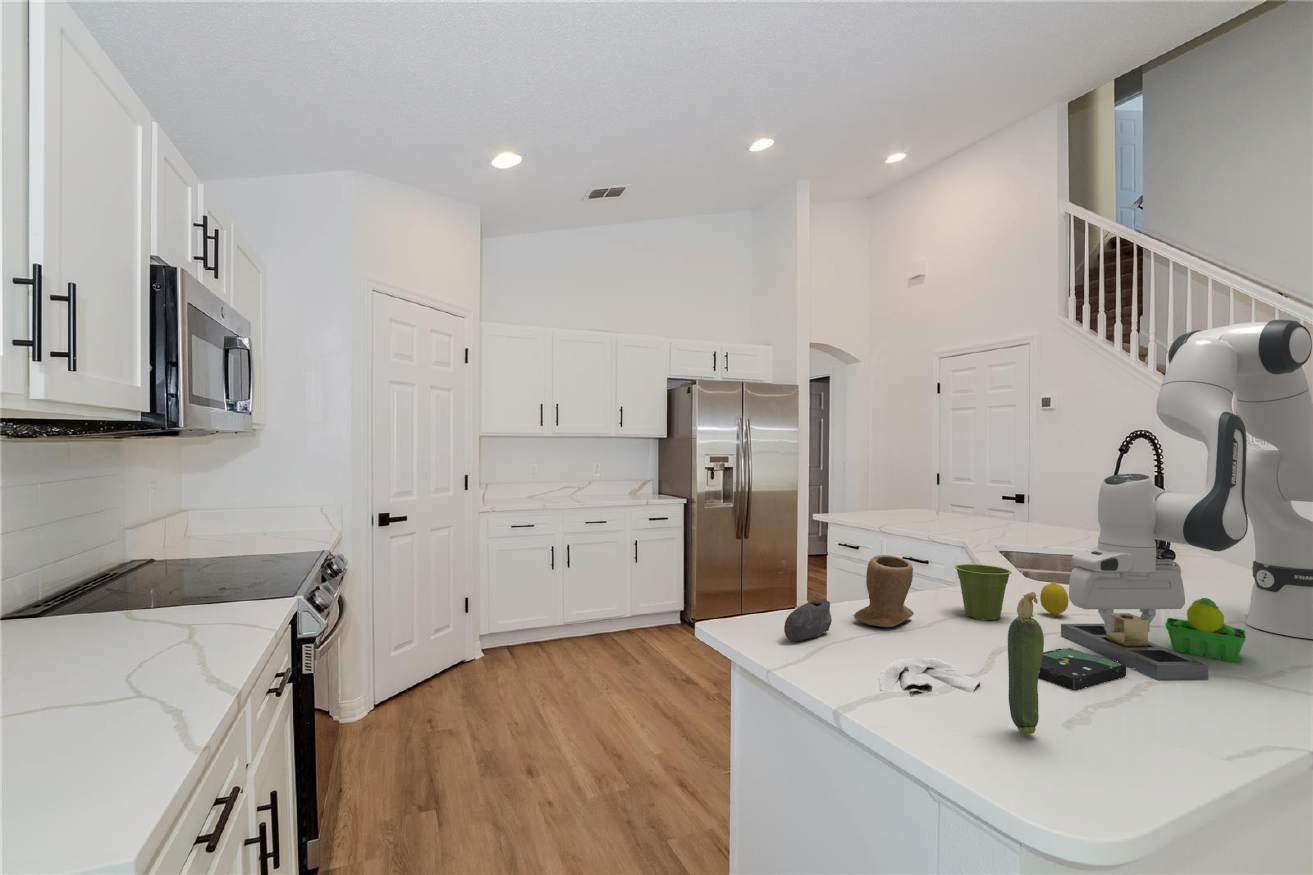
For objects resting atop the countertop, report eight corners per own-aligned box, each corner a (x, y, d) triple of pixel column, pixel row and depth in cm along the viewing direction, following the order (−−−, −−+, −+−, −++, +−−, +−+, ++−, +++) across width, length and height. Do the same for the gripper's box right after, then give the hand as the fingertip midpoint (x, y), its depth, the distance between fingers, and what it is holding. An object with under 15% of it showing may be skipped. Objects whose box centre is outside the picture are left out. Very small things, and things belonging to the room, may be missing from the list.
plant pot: (1023, 624, 137) (1022, 573, 137) (969, 624, 137) (969, 573, 137) (994, 610, 149) (994, 563, 149) (945, 609, 149) (945, 563, 149)
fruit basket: (1245, 655, 117) (1244, 596, 117) (1246, 668, 110) (1245, 605, 111) (1167, 642, 125) (1167, 586, 125) (1164, 653, 118) (1164, 594, 118)
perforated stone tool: (795, 648, 121) (795, 613, 121) (774, 641, 125) (774, 607, 125) (838, 633, 131) (838, 600, 131) (817, 627, 135) (817, 596, 135)
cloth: (941, 659, 117) (941, 646, 117) (1029, 708, 95) (1029, 692, 95) (841, 665, 113) (841, 652, 113) (909, 717, 92) (909, 701, 92)
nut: (1128, 638, 119) (1128, 612, 119) (1148, 646, 115) (1147, 618, 115) (1106, 639, 119) (1106, 612, 119) (1124, 646, 114) (1124, 619, 115)
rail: (1102, 635, 129) (1102, 623, 129) (1208, 679, 105) (1208, 664, 105) (1060, 635, 129) (1060, 623, 129) (1156, 679, 105) (1156, 665, 105)
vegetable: (1001, 726, 87) (1000, 586, 88) (1029, 725, 88) (1029, 586, 88) (1022, 741, 83) (1021, 594, 83) (1052, 740, 83) (1051, 593, 84)
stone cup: (898, 635, 129) (898, 564, 129) (847, 623, 137) (846, 557, 138) (928, 621, 139) (928, 555, 140) (878, 611, 148) (878, 548, 148)
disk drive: (1076, 695, 100) (1127, 679, 106) (1075, 678, 100) (1127, 663, 106) (1015, 673, 109) (1066, 659, 116) (1014, 658, 109) (1065, 645, 116)
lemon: (1072, 620, 140) (1072, 585, 140) (1046, 618, 141) (1046, 584, 141) (1062, 613, 146) (1062, 579, 146) (1036, 612, 147) (1036, 578, 147)
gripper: (1165, 556, 120) (1166, 626, 120) (1063, 556, 120) (1063, 626, 120) (1194, 562, 114) (1195, 636, 114) (1086, 562, 114) (1087, 637, 113)
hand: (1126, 631), depth 117 cm, fingers closed on nut, 4 cm apart
